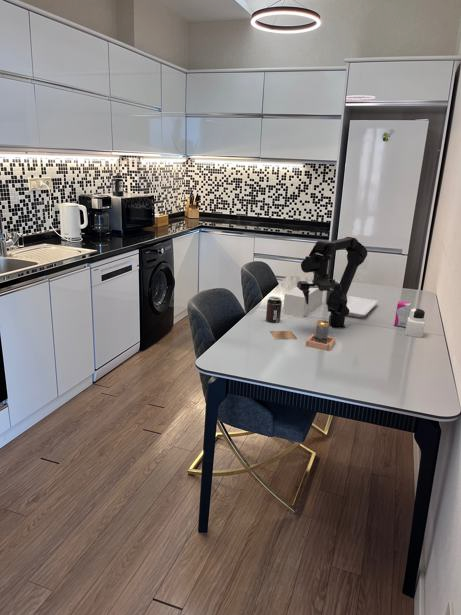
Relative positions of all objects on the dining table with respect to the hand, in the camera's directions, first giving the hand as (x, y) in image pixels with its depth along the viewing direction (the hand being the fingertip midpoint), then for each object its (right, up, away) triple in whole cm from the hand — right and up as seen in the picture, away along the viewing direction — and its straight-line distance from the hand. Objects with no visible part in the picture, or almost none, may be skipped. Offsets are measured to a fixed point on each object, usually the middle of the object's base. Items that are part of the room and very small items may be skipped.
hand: (317, 304), depth 205 cm
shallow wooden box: (-1, -18, -12) cm, 22 cm away
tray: (+28, -3, +40) cm, 49 cm away
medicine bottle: (+46, -14, +8) cm, 49 cm away
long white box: (0, -2, +38) cm, 38 cm away
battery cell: (-1, -17, -13) cm, 21 cm away
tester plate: (-15, -14, -4) cm, 21 cm away
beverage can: (-18, -9, +14) cm, 24 cm away
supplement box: (+44, -10, +19) cm, 49 cm away
